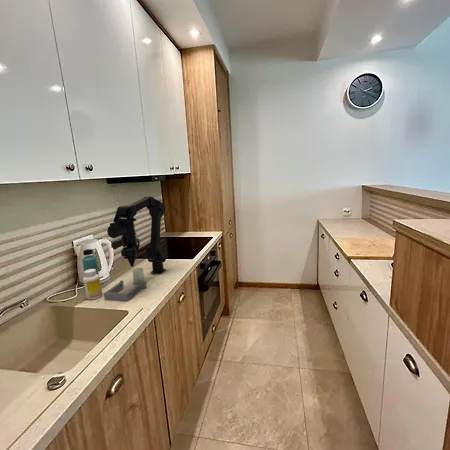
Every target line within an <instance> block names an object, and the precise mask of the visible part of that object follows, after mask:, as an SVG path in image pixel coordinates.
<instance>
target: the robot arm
mask: <svg viewBox="0 0 450 450" xmlns="http://www.w3.org/2000/svg"><path fill="white" fill-rule="evenodd" d="M144 208H145V209H148V214H149V215H150V218H151V221H150V223H151V224H150V225H151V227H150V243H149V246H147V247H146V249H145V256H146V258H147V261H148V263H151V265H152V266H151V267H152V271H151V272H150V274H158V275H159V274H160V275H162V273H164V272H165V271H166V270H167V269H166V268H164V263H165V262H166V261H167V255H165V254H164V253H163V248H162V246H161V245H160V244H161V226H162V225H161V223H162V221H161V220H162V218H163V216H164V215H165V209H166V206H165V204H164V203H163V202H162V201H160V200H158V199H156V198H155V197H153V196H144V197H142V198H141V199H139V200H137V201H134V202H133V203H131V204H124V205H120V206H118V207H117V209H116V211H115V216H114V217H113V221H112V222H109V226H108V228H107V230H106V231H107V235H108V237H110V238H111V239H116V240H113V241H112V242H111V244H110V246H111V248H112V249H113V251H115V250H117V249H119V248H121V247H122V249H121V251H120V254H121V256H122V257H124V258H126V259H127V261H128V263H129V266H130V267H134V266H135V261H136V260H137V257H138V252H139V249H140V246H141V239H140V238H139V237H137V231H136V228H135V222H136V221H137V218H135V217H136V215H137V214H138V212H140V211H141V210H143V209H144ZM118 237H120V238H118ZM117 238H118V239H117Z"/></svg>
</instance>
